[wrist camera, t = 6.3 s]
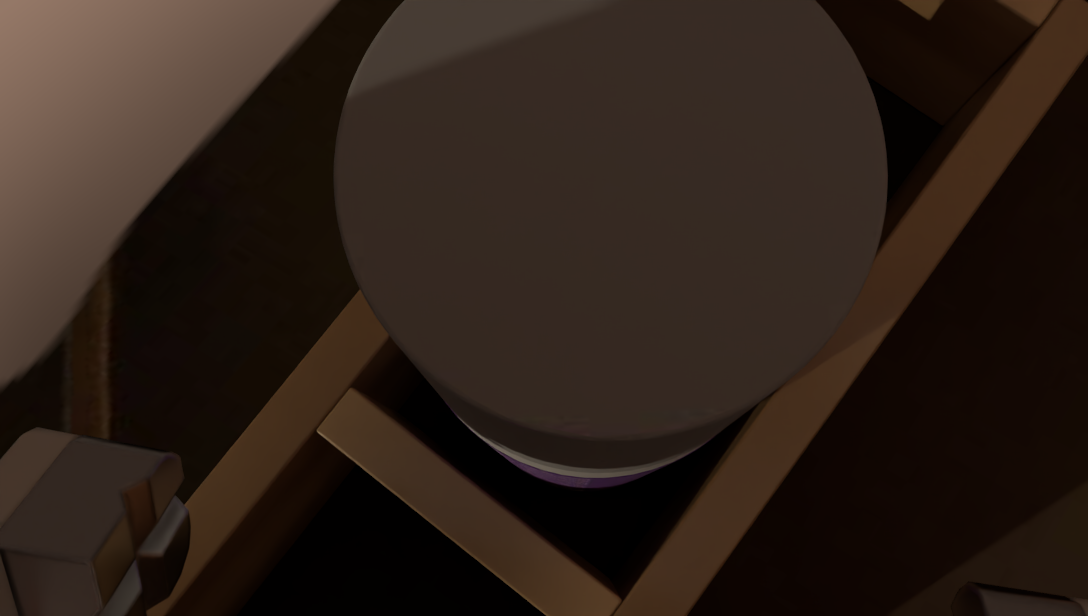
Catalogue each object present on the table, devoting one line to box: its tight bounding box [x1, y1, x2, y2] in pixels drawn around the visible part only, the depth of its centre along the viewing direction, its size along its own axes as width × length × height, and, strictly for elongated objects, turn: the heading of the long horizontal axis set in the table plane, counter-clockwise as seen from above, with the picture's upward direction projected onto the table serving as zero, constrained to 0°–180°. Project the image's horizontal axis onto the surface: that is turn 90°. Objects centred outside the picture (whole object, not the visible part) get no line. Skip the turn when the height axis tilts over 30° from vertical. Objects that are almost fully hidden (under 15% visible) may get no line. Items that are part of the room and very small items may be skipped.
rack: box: [146, 0, 1088, 616], centre depth 20 cm, size 8×22×5 cm, turn 142°
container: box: [334, 0, 888, 492], centre depth 15 cm, size 5×5×15 cm
